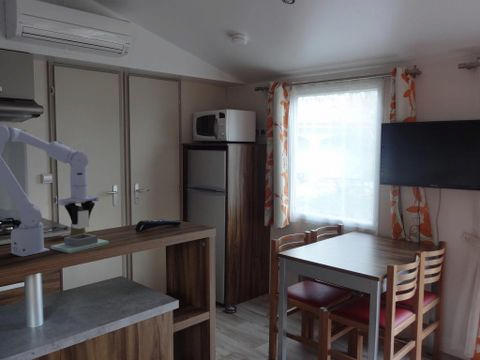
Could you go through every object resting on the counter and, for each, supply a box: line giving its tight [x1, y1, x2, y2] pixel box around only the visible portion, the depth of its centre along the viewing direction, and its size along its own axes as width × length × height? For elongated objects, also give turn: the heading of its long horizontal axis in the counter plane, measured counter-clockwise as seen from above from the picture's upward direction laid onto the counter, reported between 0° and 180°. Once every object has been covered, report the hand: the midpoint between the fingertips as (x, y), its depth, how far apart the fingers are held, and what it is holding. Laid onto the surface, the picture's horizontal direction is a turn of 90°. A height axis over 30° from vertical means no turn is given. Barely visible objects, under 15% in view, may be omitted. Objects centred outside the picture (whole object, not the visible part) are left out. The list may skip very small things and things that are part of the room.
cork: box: [69, 223, 87, 236], centre depth 162 cm, size 6×6×11 cm
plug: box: [71, 205, 90, 229], centre depth 144 cm, size 4×4×8 cm
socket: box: [50, 233, 110, 254], centre depth 145 cm, size 16×11×4 cm
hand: (80, 223), depth 144 cm, fingers closed on plug, 4 cm apart
